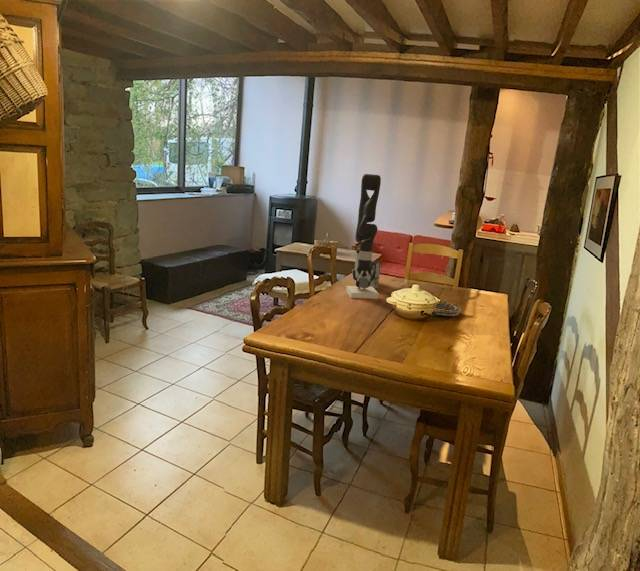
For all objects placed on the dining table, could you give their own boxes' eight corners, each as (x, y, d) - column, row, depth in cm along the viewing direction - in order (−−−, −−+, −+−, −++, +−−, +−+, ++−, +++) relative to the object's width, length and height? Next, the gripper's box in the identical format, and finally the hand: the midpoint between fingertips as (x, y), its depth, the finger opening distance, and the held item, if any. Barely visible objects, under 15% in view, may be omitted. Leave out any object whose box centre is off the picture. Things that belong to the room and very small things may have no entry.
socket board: (345, 290, 287) (346, 285, 286) (372, 291, 289) (372, 286, 288) (350, 297, 271) (351, 292, 270) (378, 298, 273) (378, 293, 273)
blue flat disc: (437, 303, 274) (439, 295, 273) (478, 318, 253) (479, 309, 252) (403, 309, 257) (404, 300, 256) (443, 325, 236) (444, 315, 235)
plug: (356, 290, 281) (358, 276, 280) (365, 290, 282) (366, 277, 280) (358, 292, 276) (359, 278, 275) (367, 292, 277) (368, 279, 275)
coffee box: (378, 287, 300) (381, 262, 296) (373, 289, 294) (376, 263, 291) (365, 284, 304) (367, 259, 301) (360, 286, 299) (363, 261, 295)
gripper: (375, 257, 279) (373, 286, 283) (351, 256, 277) (349, 285, 281) (379, 260, 272) (376, 289, 276) (354, 259, 270) (351, 288, 274)
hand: (362, 287), depth 279 cm, fingers closed on plug, 5 cm apart
